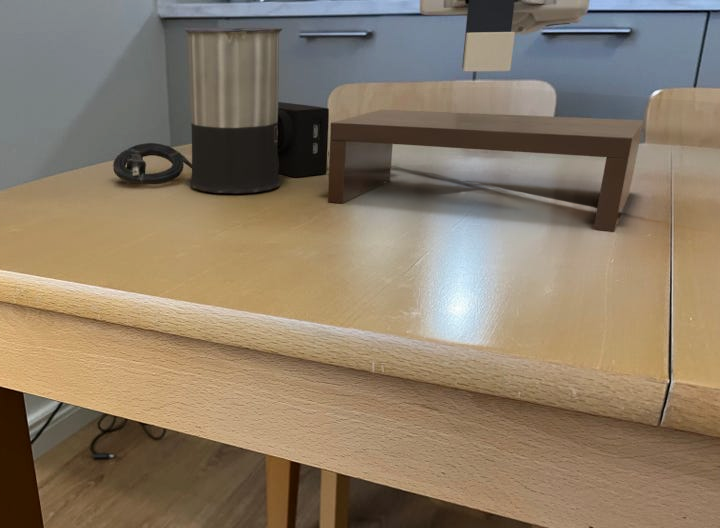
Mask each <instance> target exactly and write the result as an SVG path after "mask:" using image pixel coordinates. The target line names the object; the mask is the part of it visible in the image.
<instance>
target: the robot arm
mask: <svg viewBox="0 0 720 528" xmlns="http://www.w3.org/2000/svg"><path fill="white" fill-rule="evenodd" d="M468 3H469V0H419V13H420V14H421V15H426V16H452V15H453V16H455V15H457V16H458V15H467V12H468ZM589 6H590V0H515V3H514V11H513V20H512V28H511V32H515V35H525V34H526V35H527V34H532V33H535V32H538V31H540V30H542V29H544V28H545V27H546V28H547V27H553V26H560V25H563V26H564V25H570V24H578V23H580V22H581V20H582V17H584V16H585V15H586V14H588V11H589Z"/></svg>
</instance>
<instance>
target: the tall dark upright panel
mask: <svg viewBox="0 0 720 528" xmlns="http://www.w3.org/2000/svg"><path fill="white" fill-rule="evenodd" d="M514 3H515V0H469V3H468V12H467V14H466V22H465V23H466V24H465V34H464V35H465V36H464V46H463V54H462V55H463V57H462V58H463V59H462V65H461V68H462V70H463V72H465V73H467V72H469V73H470V72H471V73H472V72H474V73H475V72H477V73H479V72H481V73H482V72H485V73H487V72H490V73H491V72H511V69H512V63H513V61H512V60H513V53H514V51H513V50H514V42H515V35H516V34H515V32H511V28H512V20H513V11H514Z"/></svg>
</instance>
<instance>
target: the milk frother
mask: <svg viewBox="0 0 720 528" xmlns="http://www.w3.org/2000/svg"><path fill="white" fill-rule="evenodd" d="M282 31H283V28H282V27H271V26H270V27H269V26H268V27H266V26H265V27H264V26H256V27H255V26H249V27H248V26H243V27H241V26H240V27H190V28H188V27H187V28H184V32H185V33H187V40H188V41H187V42H188V44H187V45H188V67H189V68H188V70H189V94H190V95H189V96H190V119H191V121H190V122H191V125H190V126H191V162H190V161H189V159H187V157H186V156H185V155H183V154H182V153H181V152H180V151H178V150H176V149H175V148H173V147H172V146H170V145H166V144H162V143H156V142H147V143H140V144H135V145H133V146H131V147H130V146H129V147H128V148H127V149H124V150H123V151H121V152H120V153H119V154H118V155H117V156H116V157H115V158H114V160H113V164H112V166H113V172H114V174H115V176H116V177H118V178H119V179H121V180H122V181H125V182H128V183H133V184H137V185H139V184H140V185H161V184H166V183H169V182H172V181H174V180H175V179H177V178H179V177H180V175H181V174H182V173H183V171H184V165H186V166H188V167H189V168H190V169H191V176H190V180H189V186H190V188H192V189H195V190H198V191H201V192H206V193H213V194H232V195H233V194H234V195H235V194H254V193H260V192H266V191H271V190H275V189H278V187H280V185H281V180H280V179H279V173H278V171H279V169H278V168H279V164H278V155H277V148H278V146H277V142H278V141H277V139H278V122H277V121H278V102H279V75H280V74H279V71H280V69H279V68H280V67H279V66H280V63H279V62H280V61H279V60H280V59H279V58H280V54H279V52H280V42H279V41H280V32H282ZM150 156H152V157H154V156H155V157H160V158H163V159H165V160H167V161H168V162H170V163H171V166H170V167H168V168H167V169H166V170H162V171H159V172H154V173H146V167H147V162H146V161H145V160H144V159H143V158H145V157H150Z"/></svg>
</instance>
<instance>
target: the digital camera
mask: <svg viewBox="0 0 720 528" xmlns="http://www.w3.org/2000/svg"><path fill="white" fill-rule="evenodd" d="M329 116H330V108H328V107H323V106H316V105H308V104H307V105H306V104H300V103H291V102H283V101H282V102H281V101H278V121H277V122H278V139H277V141H278V142H277V146H278V148H277V155H278V164H279V168H278V169H279V171H278V174H280V175H284V176H287V177H291V178H302V177H309V176H319V175H326V174H327V172H328V169H327V168H328V145H329V121H330V120H329V119H330V118H329Z"/></svg>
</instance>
